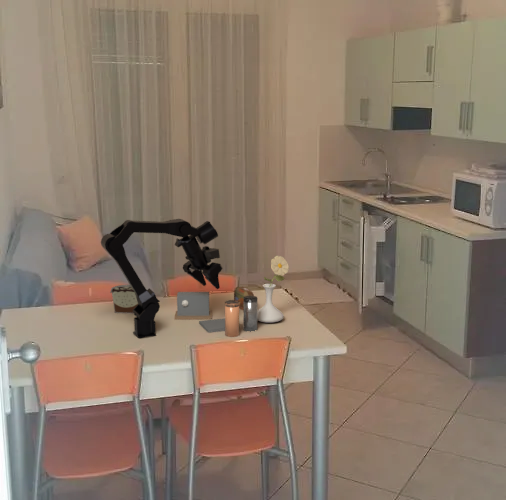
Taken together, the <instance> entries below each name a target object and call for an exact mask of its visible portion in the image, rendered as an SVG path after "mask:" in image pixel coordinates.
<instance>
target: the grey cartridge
mask: <svg viewBox="0 0 506 500" xmlns="http://www.w3.org/2000/svg"><path fill="white" fill-rule="evenodd" d="M257 311H258V296H255V295H254V296H245V297H244V311H243V316H242V317H243V326H242V329H243V331H244V332H247V331H250V332H249V333H252V332H251V331H254V332H256V331H255V330H257V331H258V320H257Z"/></svg>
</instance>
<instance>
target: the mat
mask: <svg viewBox="0 0 506 500" xmlns="http://www.w3.org/2000/svg"><path fill="white" fill-rule="evenodd" d="M198 324H199V325H200V327H202V328H203V329H204V330H205V331H206V333H208V334H209V333H216V332H217V333H218V332H225V317H223V318H216V319H204V320H199V321H198Z"/></svg>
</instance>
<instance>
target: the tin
mask: <svg viewBox="0 0 506 500" xmlns="http://www.w3.org/2000/svg"><path fill="white" fill-rule="evenodd" d="M245 296H255V295H254V292H253V291H252V290H250V289H248V288H246V287H244V286H236V287H235V288H234V291H233V300H236V301H239V310H241V311H243V312H244V297H245Z"/></svg>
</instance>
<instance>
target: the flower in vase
mask: <svg viewBox="0 0 506 500" xmlns="http://www.w3.org/2000/svg"><path fill="white" fill-rule="evenodd" d="M287 261H288V260H287V259H285V257H284V256H282V255H276V256H274V258H272V259H271V261H270V266H271V268H270V269H271V270H272V272H273V273H274V275H273V277H272V279H269V278H267V277H265V276H264V277H263V278H264V280H265V281H268V282H270V283H265V284H262V287H263V288H264V291H265V303H264V305H263V306H262V307H261V308H259V309H257V322H258V321H259V322H262V323H277V322H280V321H283V319H284V318H285V315H284V313H283V312H282V311H281V310H280V309H278V308H277V307H276V306H275V304H273V293H274V289H275V288H276V286H277V285H276V283H275V284H274V283H273V281H274V280H276V281H277V282H282V281H284V280H285V279H286V278H285V277H284V276H285V274H288V273H289V269H290V268H289V267H290V266H289V263H288V262H287Z"/></svg>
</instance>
